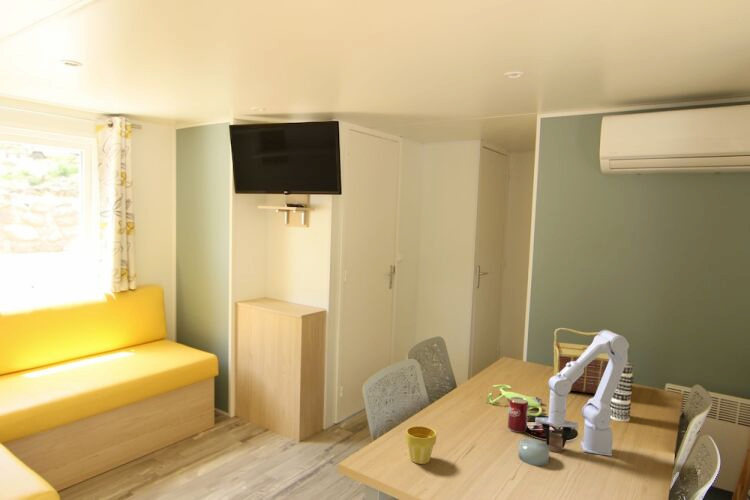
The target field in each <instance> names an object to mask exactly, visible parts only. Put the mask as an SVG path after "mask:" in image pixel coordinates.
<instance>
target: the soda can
mask: <svg viewBox="0 0 750 500" xmlns="http://www.w3.org/2000/svg"><path fill="white" fill-rule="evenodd" d="M508 401H509V402H508V413H507V415H508V416H507V417H508V418H507V428H508V430H510V431H512V432H514V433H519V434H521V433H525V432H526V431H527V430H526V429H528V428H527V427H528V415H529V414H528V411H529V410H528V409H529V406H528V401H527V400H526V399H524V398H521V397H512V398H510V400H509V399H508ZM524 431H525V432H524Z"/></svg>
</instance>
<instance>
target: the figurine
mask: <svg viewBox="0 0 750 500" xmlns="http://www.w3.org/2000/svg"><path fill="white" fill-rule="evenodd" d="M492 388H499V391H500V392H501V395H500V396H498V397H497V398H495V399H493V396H494V395H493V393H492V392H489V394H488V395H487V397H486V401H485V404H489V403H490V404H495V403H496V402H498V401H500V400H501V399H503V398H506V399H508V401H509V400H510V398H512V397H521V398H524V399H526V400H527V401H528V415H529V416H531V417H538V416H540V415H541V414H543V408H542V407H541V406H542V402H543V399H541V398H538V396H536V397H534V396H527V395H523V394H521V393H517V392H515V391H514V392H513V391H511V390H512V389H513V388H512V386H510V385H508V384H496V385H495V384H494V385H492ZM505 390H506V391H505ZM507 390H508V391H507ZM492 399H493V400H492ZM535 408H537V409H538V412H537V413H531V412H530V411H529V410H532V409H535Z"/></svg>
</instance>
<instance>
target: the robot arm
mask: <svg viewBox="0 0 750 500" xmlns="http://www.w3.org/2000/svg"><path fill="white" fill-rule="evenodd" d="M599 332H600V333H599V334H598V335H596V336H593V337H594V338H593V340H592V343H591V344H589V345H590V346H589V347H588V348H587V349H586V350H585V352H584V353H583V354H582V355H581V356H580V357H579V358H578V359H577V361H571V362H570V363H567V364H566V367H565V368H564V369H563V370H562V371H561V372H559V373H557V375H555V376H554V375H553V376H551V377H550V378H549V380H548V381H547V387H548V388H549V389H550V390H549V405H548V417H538V416H535V419H534V420H535V425H541V427H542V430H543V432H544V436H545V440H546V442H545V443H546V444H547V445H548V446H549V433H551V429H550V427H551V426H552V427H558V428H562V430H561V431H562V432H561V434H562V438H563V446H562V449H563V448H565V445H566V442H567V440H568V438H569V437H570V435H571V434H572V430H575V431H578V430H579V423H578V422H574V421H570V420H566V412H567V397H568V394H569V393H570V392H571V391H570V390H571V386H572V384H573V383H574V382H575V381H576V380H577V379H578V378H579V377H580V376H581V375H582V374H583V373H584V367H585V366H587V365H588V364H589V363H590V362H591V361H592V360H594V359H595V358H596V357H597V356H598V355H600V354H608V355H609V357H610V360H609V362H608V364H607V367H606V369H605V372H604V374H603V377H602V379H601V382H600V384H599V386H598V389H597V391H596V394H594V396H593V397H590V398H589V399H588V400H587V403H586V404H585V405H583V407H582V409H581V416H582V417H583V418H584V425H583V426H584V429H583V440H581V441H580V445H581V448H582V451H583V452H584V453H589V454H595V455H602V456H608V457H612V456H613V453H612V452H613V443H614V442H613V441H614V436H613V435H614V433H613V429H612V427H609V426H610V425H611V423H612V419H611V414H612V411H611V408H610V402H611V400H612V397H613V395H614V392H615V390H616V387H617V385H618V383H619V380H620V378H621V375H622V373H623V370H624V368H625V366H626V363H627V361H629V360H628V359H629V355H628V350H629V347H630V343H629V342H628V341H627V339H626V337H624V335H619V334H618V333H615V332H613V331H611V330H609V329H602V330H601V331H599Z"/></svg>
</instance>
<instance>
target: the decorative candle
mask: <svg viewBox="0 0 750 500" xmlns="http://www.w3.org/2000/svg"><path fill="white" fill-rule="evenodd" d="M633 367H634V365H633V364H632V362H630V361H629V360H627V363H626V366H625V368H624V370H623V373H622V375H621V378H620V380H619V383H618V385H617V387H616V390H615V392H614V395H613V397H612V400H611V402H610V408H611V411H612V414H611V420H613V421H617V422H629V421H630V420H631V419H630V417H631V415H630V414H631V406H632V403H631V394H632V393H633V392H632V391H633V389H632V388H633V385H632V384H633V383H634V381H633V380H634V377H633Z"/></svg>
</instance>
